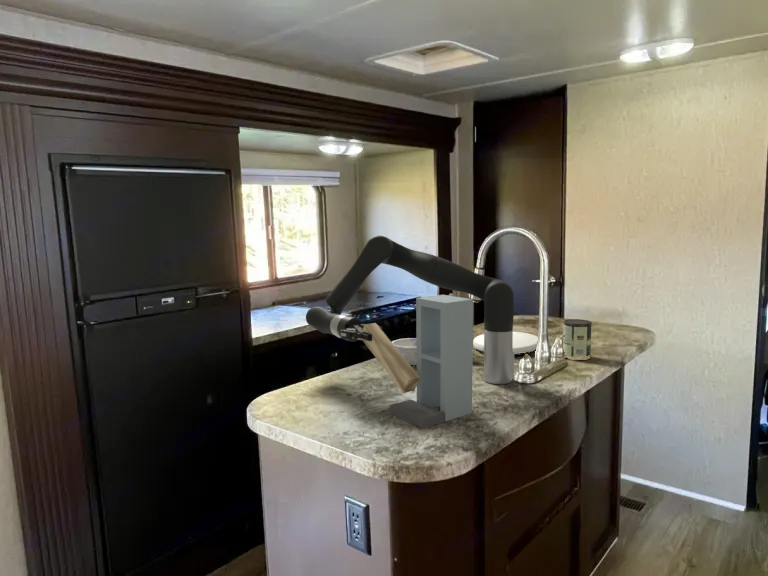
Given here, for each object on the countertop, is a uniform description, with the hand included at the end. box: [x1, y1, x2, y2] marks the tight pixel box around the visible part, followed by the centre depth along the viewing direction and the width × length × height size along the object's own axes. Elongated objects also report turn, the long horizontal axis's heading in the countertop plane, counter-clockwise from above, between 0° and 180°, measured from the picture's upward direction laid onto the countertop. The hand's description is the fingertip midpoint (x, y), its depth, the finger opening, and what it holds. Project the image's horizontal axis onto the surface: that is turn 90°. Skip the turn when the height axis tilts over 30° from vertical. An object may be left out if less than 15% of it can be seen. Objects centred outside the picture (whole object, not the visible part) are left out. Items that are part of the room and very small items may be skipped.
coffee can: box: [562, 318, 593, 357], centre depth 214 cm, size 10×10×14 cm
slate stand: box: [415, 294, 474, 422], centre depth 156 cm, size 10×12×32 cm
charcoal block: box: [389, 399, 445, 429], centre depth 153 cm, size 8×14×2 cm, turn 36°
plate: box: [473, 331, 539, 353], centre depth 229 cm, size 28×6×27 cm
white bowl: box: [391, 337, 417, 366], centre depth 210 cm, size 15×15×8 cm
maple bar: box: [362, 322, 420, 394], centre depth 161 cm, size 4×24×5 cm
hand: (377, 336), depth 165 cm, fingers closed on maple bar, 4 cm apart
